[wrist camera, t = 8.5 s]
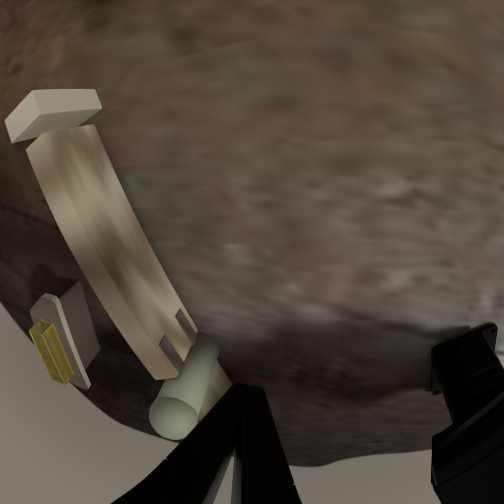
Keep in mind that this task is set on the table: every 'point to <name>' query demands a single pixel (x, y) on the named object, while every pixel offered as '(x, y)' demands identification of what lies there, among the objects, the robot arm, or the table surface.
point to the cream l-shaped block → (51, 112)
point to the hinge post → (185, 391)
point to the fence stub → (214, 390)
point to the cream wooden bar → (112, 247)
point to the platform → (65, 335)
